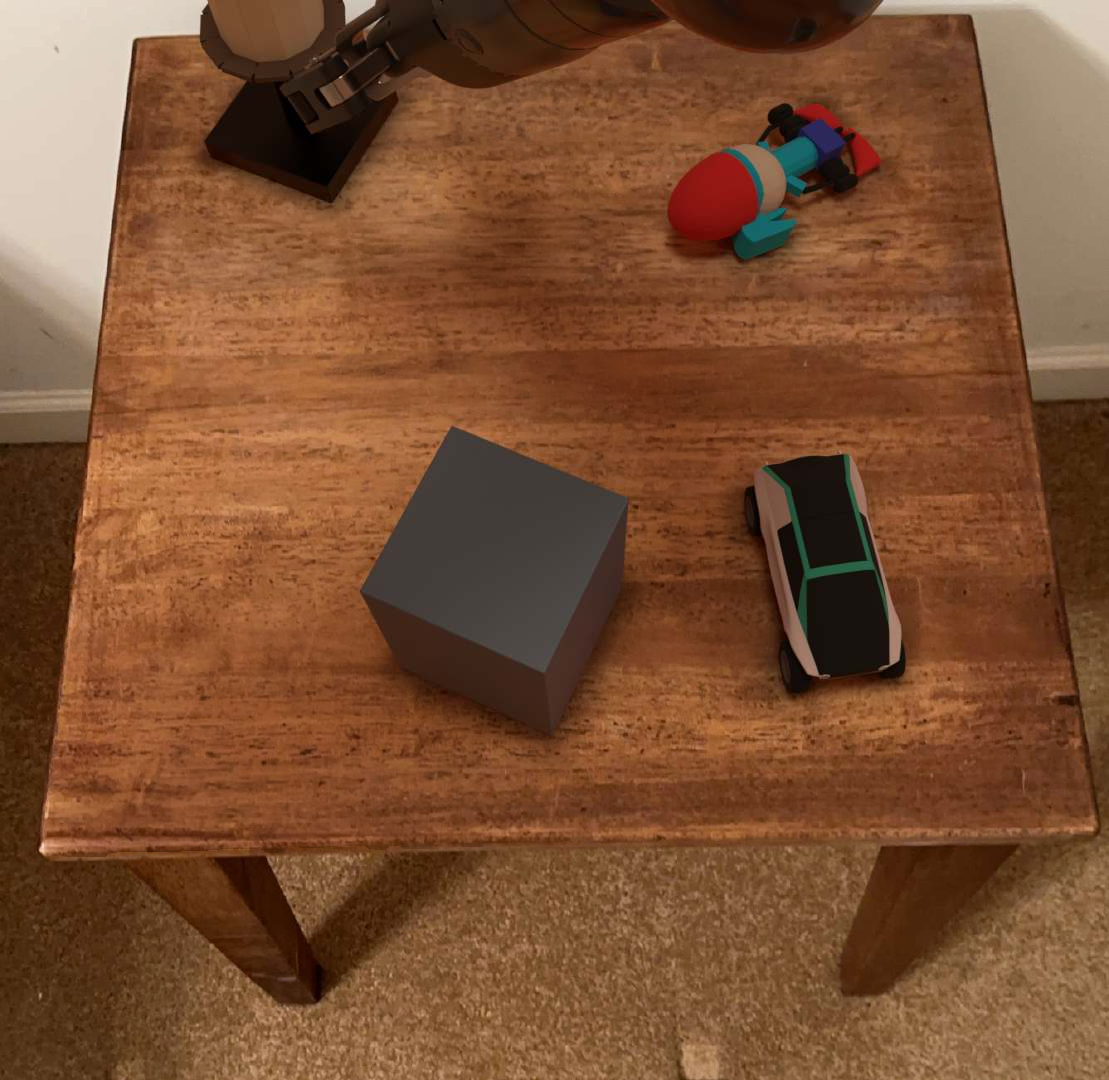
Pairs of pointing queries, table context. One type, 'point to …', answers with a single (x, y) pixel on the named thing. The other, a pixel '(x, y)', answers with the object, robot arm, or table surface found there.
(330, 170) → the hat stand
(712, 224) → the toy figure
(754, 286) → the table surface
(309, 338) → the table surface
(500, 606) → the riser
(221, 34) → the hat
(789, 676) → the toy car
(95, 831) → the table surface
